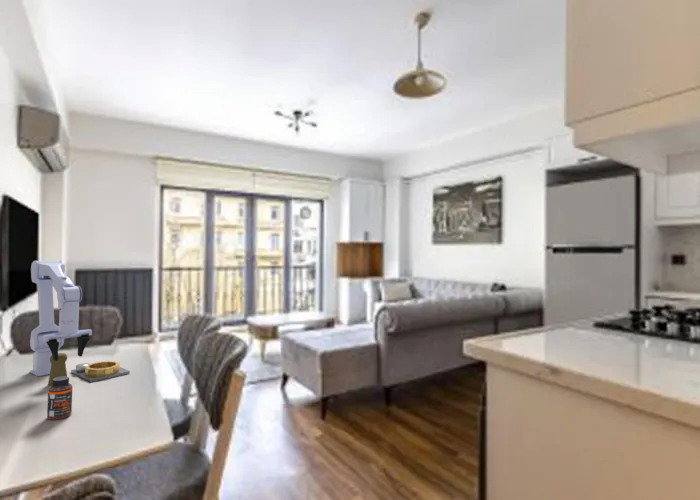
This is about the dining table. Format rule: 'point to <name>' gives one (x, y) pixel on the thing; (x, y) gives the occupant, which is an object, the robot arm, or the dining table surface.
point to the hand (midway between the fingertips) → (67, 358)
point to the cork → (57, 367)
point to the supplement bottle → (59, 398)
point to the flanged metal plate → (99, 370)
